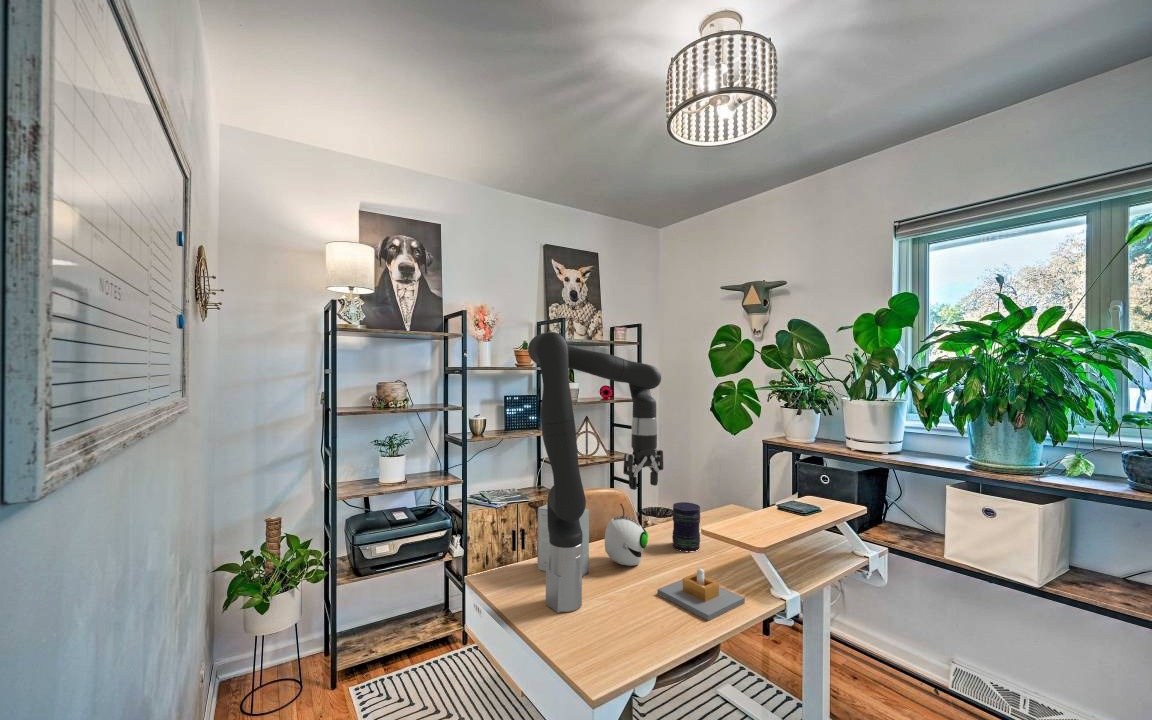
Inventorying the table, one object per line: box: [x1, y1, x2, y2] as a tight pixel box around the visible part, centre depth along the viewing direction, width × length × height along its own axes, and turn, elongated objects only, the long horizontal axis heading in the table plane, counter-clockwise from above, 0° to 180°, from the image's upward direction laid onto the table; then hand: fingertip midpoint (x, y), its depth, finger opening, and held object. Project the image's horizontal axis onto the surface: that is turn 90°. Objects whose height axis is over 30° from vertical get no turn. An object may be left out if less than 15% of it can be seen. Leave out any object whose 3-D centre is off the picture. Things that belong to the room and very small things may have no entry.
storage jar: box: [671, 501, 701, 552], centre depth 177 cm, size 10×10×15 cm
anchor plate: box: [657, 568, 746, 622], centre depth 139 cm, size 16×18×8 cm
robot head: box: [604, 503, 649, 567], centre depth 162 cm, size 16×14×20 cm
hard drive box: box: [536, 503, 590, 577], centre depth 156 cm, size 16×8×20 cm, turn 59°
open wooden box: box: [682, 572, 720, 602], centre depth 139 cm, size 6×8×4 cm
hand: (643, 487), depth 145 cm, fingers open, 8 cm apart
